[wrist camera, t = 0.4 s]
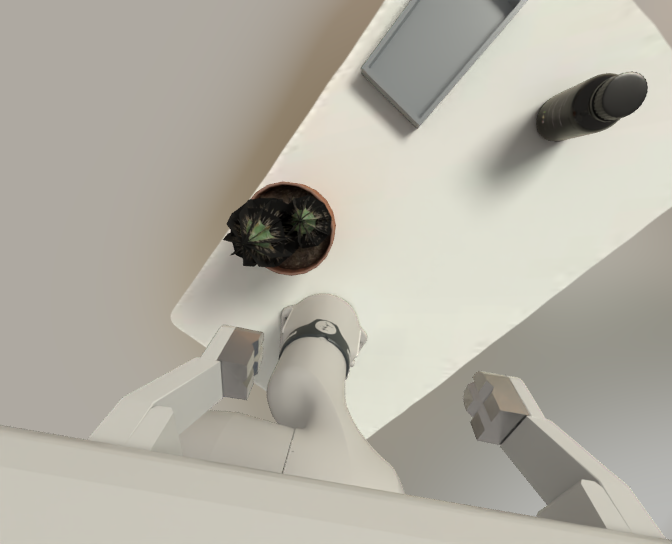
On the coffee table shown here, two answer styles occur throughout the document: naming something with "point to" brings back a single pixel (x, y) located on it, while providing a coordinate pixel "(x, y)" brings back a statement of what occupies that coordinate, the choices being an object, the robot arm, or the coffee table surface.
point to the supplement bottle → (591, 106)
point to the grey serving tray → (434, 50)
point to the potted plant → (283, 229)
